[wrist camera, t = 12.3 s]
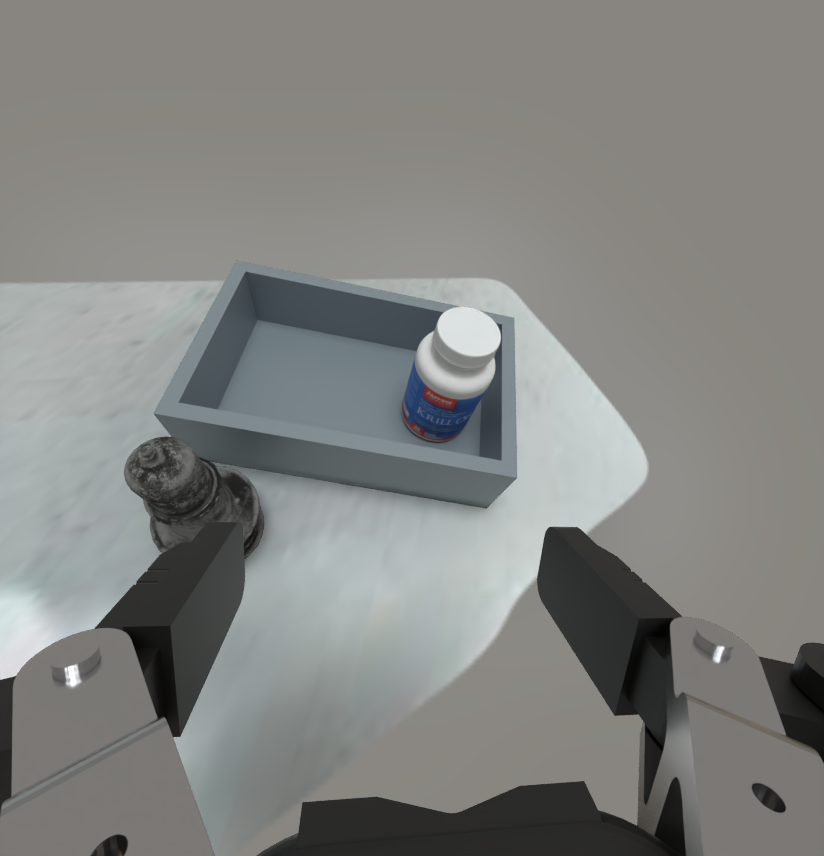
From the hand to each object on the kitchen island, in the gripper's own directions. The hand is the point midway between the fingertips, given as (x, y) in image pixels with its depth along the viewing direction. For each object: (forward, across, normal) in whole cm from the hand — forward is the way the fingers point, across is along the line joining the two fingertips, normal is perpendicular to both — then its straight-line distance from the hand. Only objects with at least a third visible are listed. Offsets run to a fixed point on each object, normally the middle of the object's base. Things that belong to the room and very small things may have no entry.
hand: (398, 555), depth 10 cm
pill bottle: (+22, -5, +1) cm, 22 cm away
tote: (+23, +1, +1) cm, 23 cm away
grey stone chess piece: (+16, +10, +8) cm, 20 cm away
